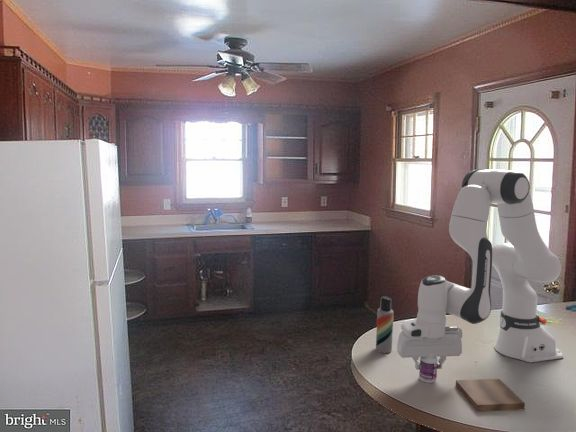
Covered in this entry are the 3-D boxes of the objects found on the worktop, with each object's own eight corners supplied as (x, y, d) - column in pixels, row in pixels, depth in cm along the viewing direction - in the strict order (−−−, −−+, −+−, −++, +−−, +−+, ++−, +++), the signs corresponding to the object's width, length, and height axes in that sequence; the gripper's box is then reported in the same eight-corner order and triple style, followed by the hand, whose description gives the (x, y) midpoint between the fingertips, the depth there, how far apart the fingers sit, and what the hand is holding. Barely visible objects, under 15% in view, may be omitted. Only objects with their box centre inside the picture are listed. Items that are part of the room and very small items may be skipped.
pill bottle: (437, 384, 150) (439, 355, 148) (419, 382, 151) (421, 353, 149) (435, 376, 155) (437, 348, 153) (418, 374, 156) (420, 346, 155)
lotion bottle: (374, 346, 176) (376, 294, 173) (389, 346, 177) (391, 294, 174) (378, 353, 171) (380, 300, 168) (393, 353, 171) (396, 299, 168)
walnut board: (498, 384, 150) (499, 378, 150) (524, 409, 136) (524, 403, 136) (455, 386, 149) (456, 380, 148) (477, 411, 135) (477, 405, 135)
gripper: (458, 322, 154) (455, 362, 156) (396, 324, 152) (394, 364, 155) (467, 330, 148) (464, 372, 150) (402, 332, 146) (400, 374, 148)
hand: (428, 368), depth 152 cm, fingers closed on pill bottle, 5 cm apart
